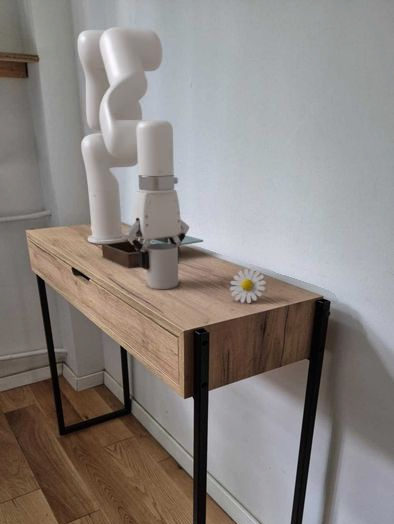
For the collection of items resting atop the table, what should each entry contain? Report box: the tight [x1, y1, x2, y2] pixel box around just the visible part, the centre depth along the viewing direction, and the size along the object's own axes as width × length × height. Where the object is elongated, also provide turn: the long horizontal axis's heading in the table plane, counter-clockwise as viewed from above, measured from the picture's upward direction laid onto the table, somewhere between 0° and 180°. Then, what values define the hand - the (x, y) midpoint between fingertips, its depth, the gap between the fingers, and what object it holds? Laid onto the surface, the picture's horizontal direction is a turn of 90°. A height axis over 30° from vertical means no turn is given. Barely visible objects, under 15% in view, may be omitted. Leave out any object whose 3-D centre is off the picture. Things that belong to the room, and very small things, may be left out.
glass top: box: [150, 234, 204, 246], centre depth 139 cm, size 15×12×2 cm
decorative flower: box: [229, 268, 267, 304], centre depth 105 cm, size 8×6×15 cm
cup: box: [146, 242, 179, 290], centre depth 111 cm, size 7×10×9 cm
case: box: [101, 238, 151, 269], centre depth 133 cm, size 15×12×4 cm
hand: (159, 265), depth 111 cm, fingers closed on cup, 7 cm apart
